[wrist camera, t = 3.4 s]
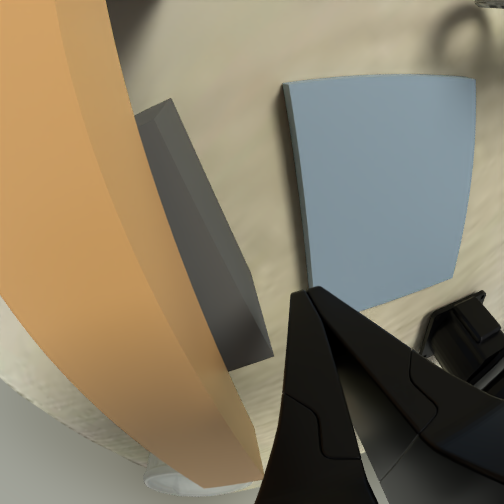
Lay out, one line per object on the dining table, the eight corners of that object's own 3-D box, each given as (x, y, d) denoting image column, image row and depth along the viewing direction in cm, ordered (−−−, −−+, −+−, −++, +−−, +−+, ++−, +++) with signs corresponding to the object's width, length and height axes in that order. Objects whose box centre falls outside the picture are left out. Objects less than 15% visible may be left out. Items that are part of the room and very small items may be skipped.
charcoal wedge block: (257, 285, 18) (281, 370, 13) (179, 314, 19) (181, 400, 14) (171, 97, 12) (154, 119, 7) (75, 149, 12) (13, 204, 7)
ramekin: (122, 434, 27) (121, 479, 22) (217, 413, 26) (224, 464, 21) (178, 464, 33) (182, 500, 29) (259, 446, 32) (268, 485, 28)
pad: (444, 269, 21) (452, 277, 20) (311, 314, 20) (315, 324, 19) (463, 76, 13) (475, 79, 12) (282, 83, 12) (288, 84, 11)
